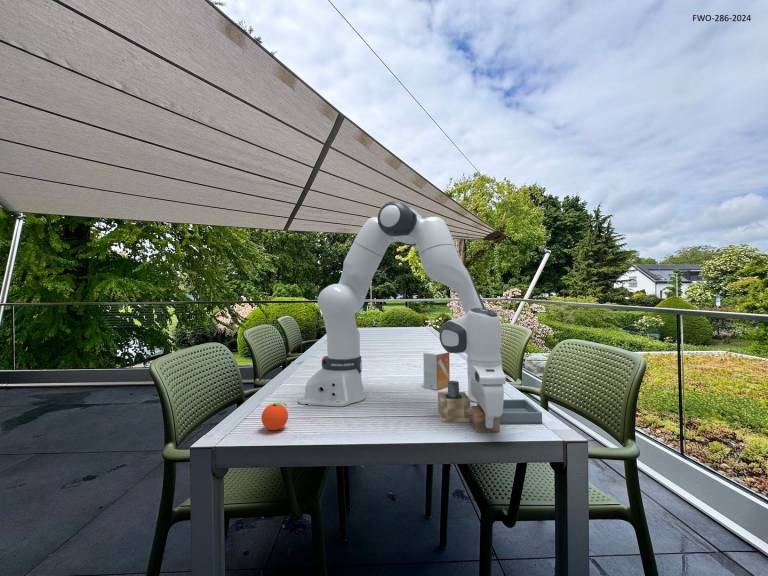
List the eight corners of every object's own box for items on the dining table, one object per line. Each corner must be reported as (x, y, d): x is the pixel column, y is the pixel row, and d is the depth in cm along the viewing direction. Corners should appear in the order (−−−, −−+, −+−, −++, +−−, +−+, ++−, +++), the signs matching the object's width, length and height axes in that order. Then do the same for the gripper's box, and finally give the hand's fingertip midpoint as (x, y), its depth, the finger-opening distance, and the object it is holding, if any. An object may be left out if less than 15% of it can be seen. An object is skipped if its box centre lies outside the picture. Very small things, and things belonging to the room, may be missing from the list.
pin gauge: (449, 415, 107) (448, 383, 107) (447, 411, 110) (446, 380, 110) (460, 414, 107) (459, 383, 107) (458, 411, 110) (457, 380, 110)
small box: (437, 390, 136) (436, 354, 135) (423, 387, 140) (422, 352, 140) (450, 386, 141) (449, 351, 141) (436, 383, 146) (436, 349, 146)
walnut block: (476, 432, 97) (475, 412, 97) (471, 423, 103) (470, 405, 103) (499, 432, 97) (499, 412, 97) (493, 423, 103) (493, 405, 103)
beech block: (441, 422, 105) (441, 400, 105) (438, 412, 113) (437, 392, 113) (470, 421, 104) (470, 400, 104) (464, 412, 112) (464, 392, 112)
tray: (497, 424, 102) (497, 413, 102) (486, 409, 114) (486, 399, 114) (542, 423, 102) (542, 412, 102) (526, 409, 114) (526, 399, 114)
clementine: (278, 421, 107) (277, 397, 107) (296, 426, 103) (296, 400, 103) (255, 431, 100) (255, 405, 100) (274, 436, 96) (274, 409, 96)
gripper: (465, 361, 110) (465, 408, 110) (481, 379, 90) (482, 437, 90) (486, 361, 110) (487, 408, 110) (508, 379, 90) (508, 437, 90)
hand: (485, 421), depth 100 cm, fingers closed on walnut block, 6 cm apart
